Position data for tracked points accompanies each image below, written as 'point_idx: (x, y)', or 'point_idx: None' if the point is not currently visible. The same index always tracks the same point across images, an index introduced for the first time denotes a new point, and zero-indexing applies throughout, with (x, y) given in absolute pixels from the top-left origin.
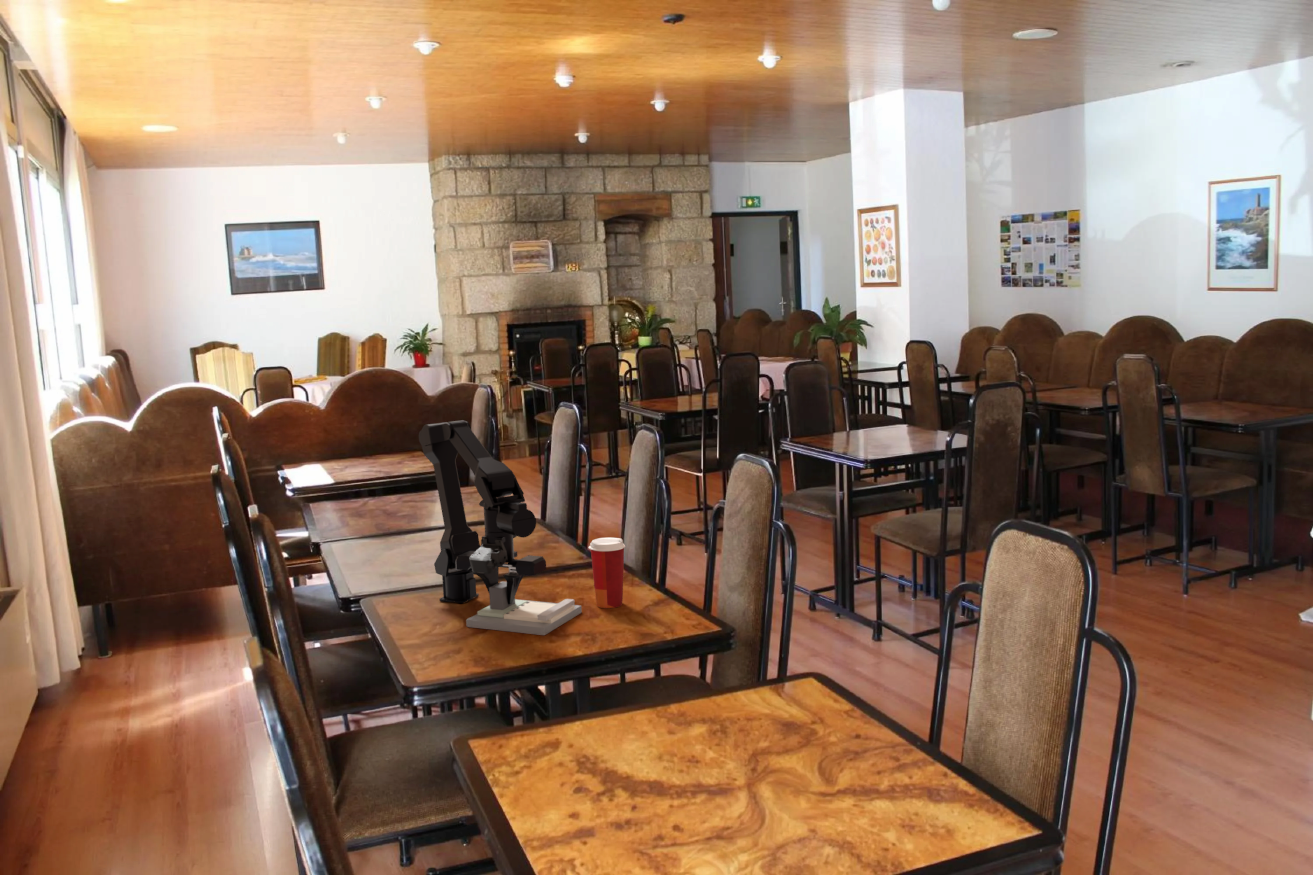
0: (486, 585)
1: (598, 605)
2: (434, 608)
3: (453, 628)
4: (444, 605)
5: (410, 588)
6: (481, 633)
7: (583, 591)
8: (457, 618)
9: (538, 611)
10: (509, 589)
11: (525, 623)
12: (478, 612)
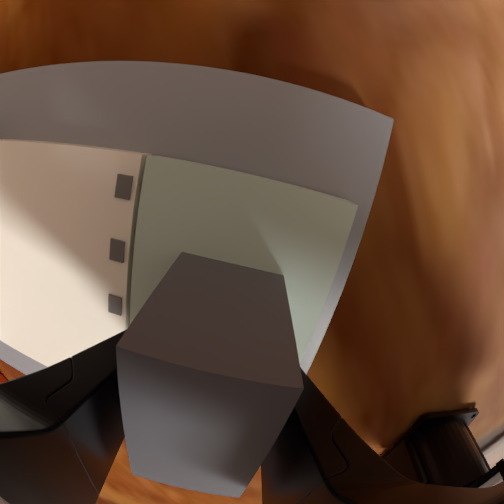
0: (347, 434)
1: (2, 379)
2: (497, 356)
3: (427, 102)
4: (471, 387)
5: (498, 439)
6: (251, 17)
7: (110, 476)
8: (443, 263)
9: (9, 246)
10: (81, 365)
11: (29, 100)
12: (348, 201)
